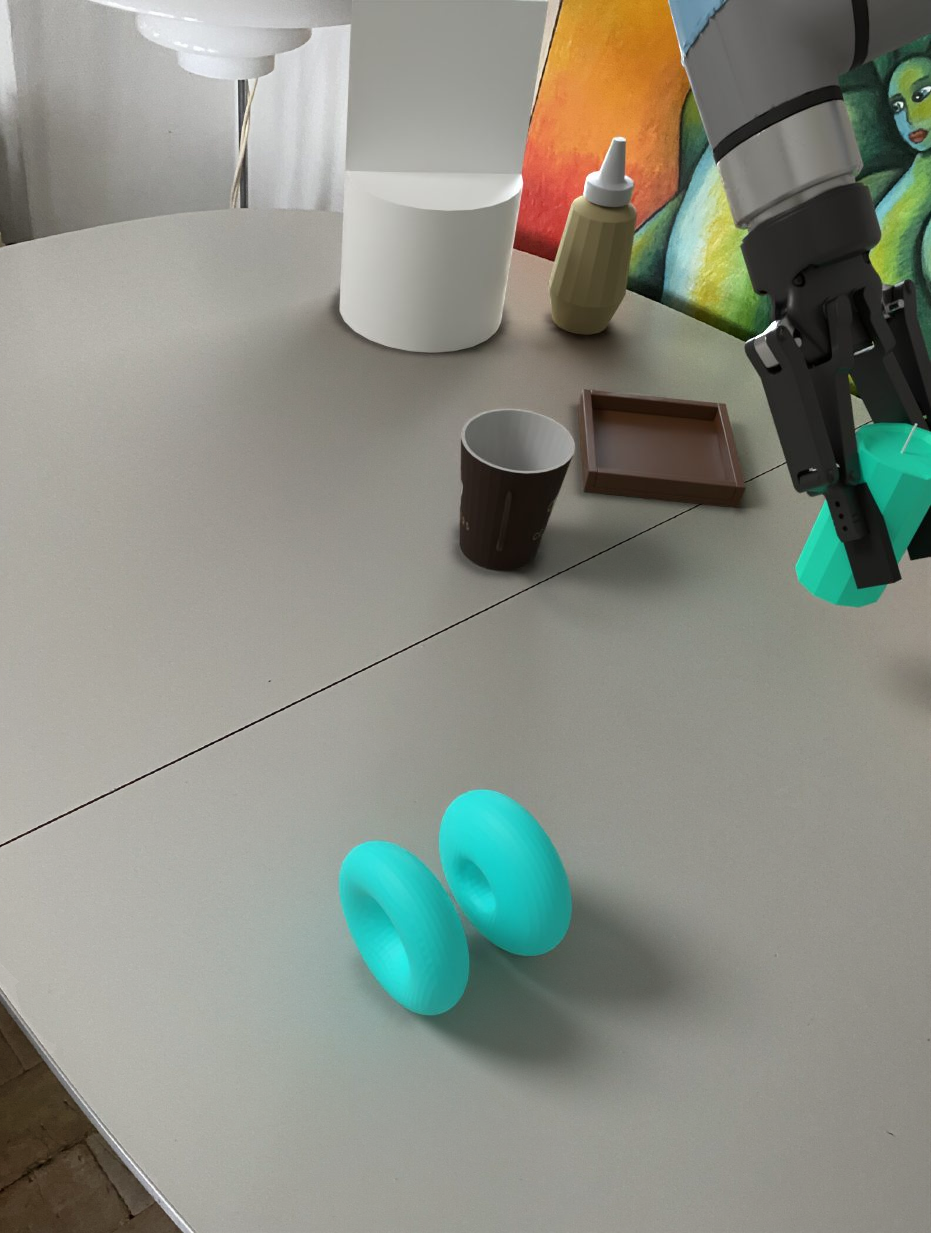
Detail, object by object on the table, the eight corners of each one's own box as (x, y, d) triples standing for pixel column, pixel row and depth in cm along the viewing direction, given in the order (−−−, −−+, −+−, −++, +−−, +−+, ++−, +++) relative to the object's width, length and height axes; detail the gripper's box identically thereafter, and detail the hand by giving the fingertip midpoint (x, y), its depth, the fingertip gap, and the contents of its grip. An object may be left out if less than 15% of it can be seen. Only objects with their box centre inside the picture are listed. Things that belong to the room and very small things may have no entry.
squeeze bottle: (632, 330, 113) (680, 146, 99) (576, 348, 110) (617, 161, 96) (582, 297, 117) (621, 117, 103) (526, 314, 114) (559, 130, 100)
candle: (790, 592, 72) (862, 437, 63) (799, 542, 75) (868, 388, 66) (881, 617, 71) (968, 462, 61) (886, 564, 74) (968, 410, 65)
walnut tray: (719, 422, 102) (725, 403, 100) (738, 507, 93) (746, 487, 91) (577, 408, 102) (582, 388, 100) (583, 491, 93) (588, 471, 92)
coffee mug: (480, 501, 91) (498, 395, 84) (568, 541, 88) (594, 435, 81) (405, 568, 85) (416, 460, 77) (497, 614, 82) (518, 507, 74)
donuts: (562, 972, 62) (600, 874, 54) (421, 1056, 58) (442, 964, 50) (461, 851, 67) (483, 747, 59) (326, 920, 63) (331, 819, 56)
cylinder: (332, 272, 117) (342, -35, 96) (485, 273, 119) (528, -28, 98) (347, 352, 106) (362, 25, 85) (515, 352, 108) (571, 32, 87)
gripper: (841, 207, 71) (936, 535, 75) (652, 265, 64) (768, 625, 68) (945, 149, 65) (1043, 513, 69) (747, 207, 57) (869, 610, 61)
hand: (906, 568), depth 68 cm, fingers closed on candle, 5 cm apart
